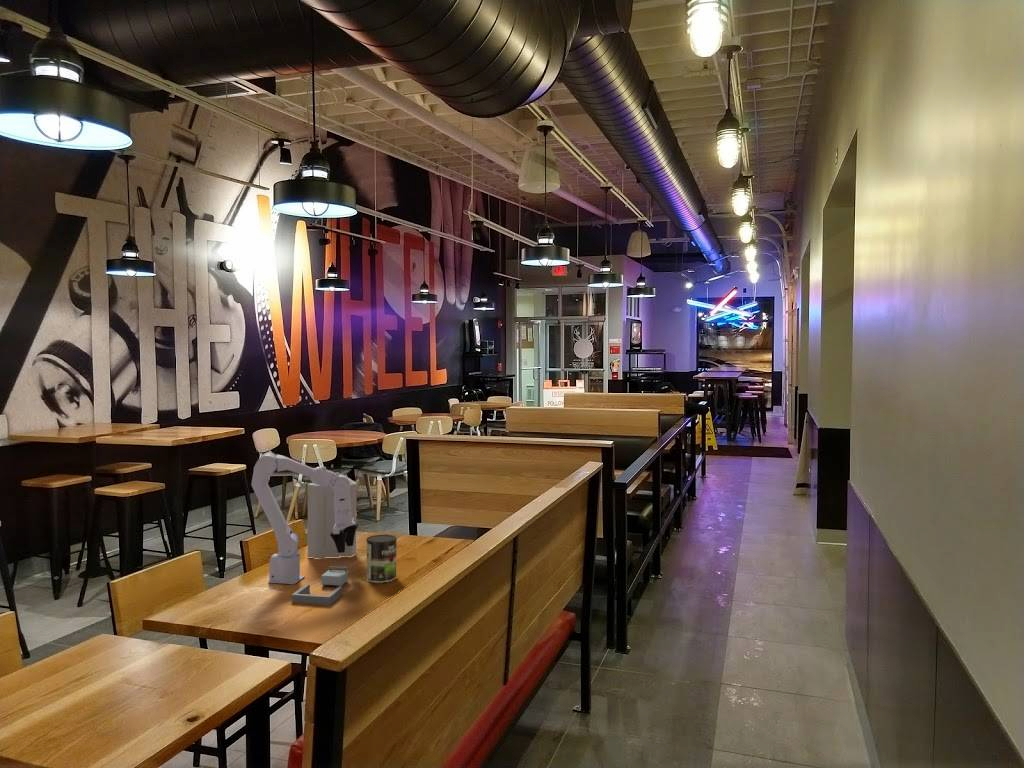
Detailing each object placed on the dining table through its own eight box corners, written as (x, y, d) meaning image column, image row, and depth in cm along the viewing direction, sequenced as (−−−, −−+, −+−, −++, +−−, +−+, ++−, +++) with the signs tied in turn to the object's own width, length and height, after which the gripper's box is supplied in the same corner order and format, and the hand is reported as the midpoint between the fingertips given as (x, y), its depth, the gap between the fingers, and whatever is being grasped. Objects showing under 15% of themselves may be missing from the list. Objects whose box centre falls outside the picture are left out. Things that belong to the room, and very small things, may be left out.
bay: (291, 602, 213) (291, 594, 213) (306, 591, 223) (306, 584, 223) (329, 605, 211) (329, 597, 211) (342, 594, 221) (342, 586, 221)
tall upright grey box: (338, 563, 254) (338, 487, 253) (306, 558, 261) (306, 484, 260) (369, 550, 272) (369, 480, 271) (338, 545, 278) (339, 476, 277)
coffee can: (402, 578, 239) (403, 537, 238) (380, 585, 230) (380, 543, 230) (382, 572, 245) (382, 532, 244) (359, 579, 237) (360, 538, 236)
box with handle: (321, 586, 228) (321, 571, 228) (328, 581, 234) (328, 565, 234) (341, 588, 227) (341, 572, 227) (348, 582, 233) (348, 567, 233)
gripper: (345, 515, 230) (348, 555, 231) (361, 505, 244) (364, 542, 245) (325, 515, 231) (328, 555, 232) (342, 505, 245) (345, 543, 246)
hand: (345, 549), depth 238 cm, fingers open, 7 cm apart
